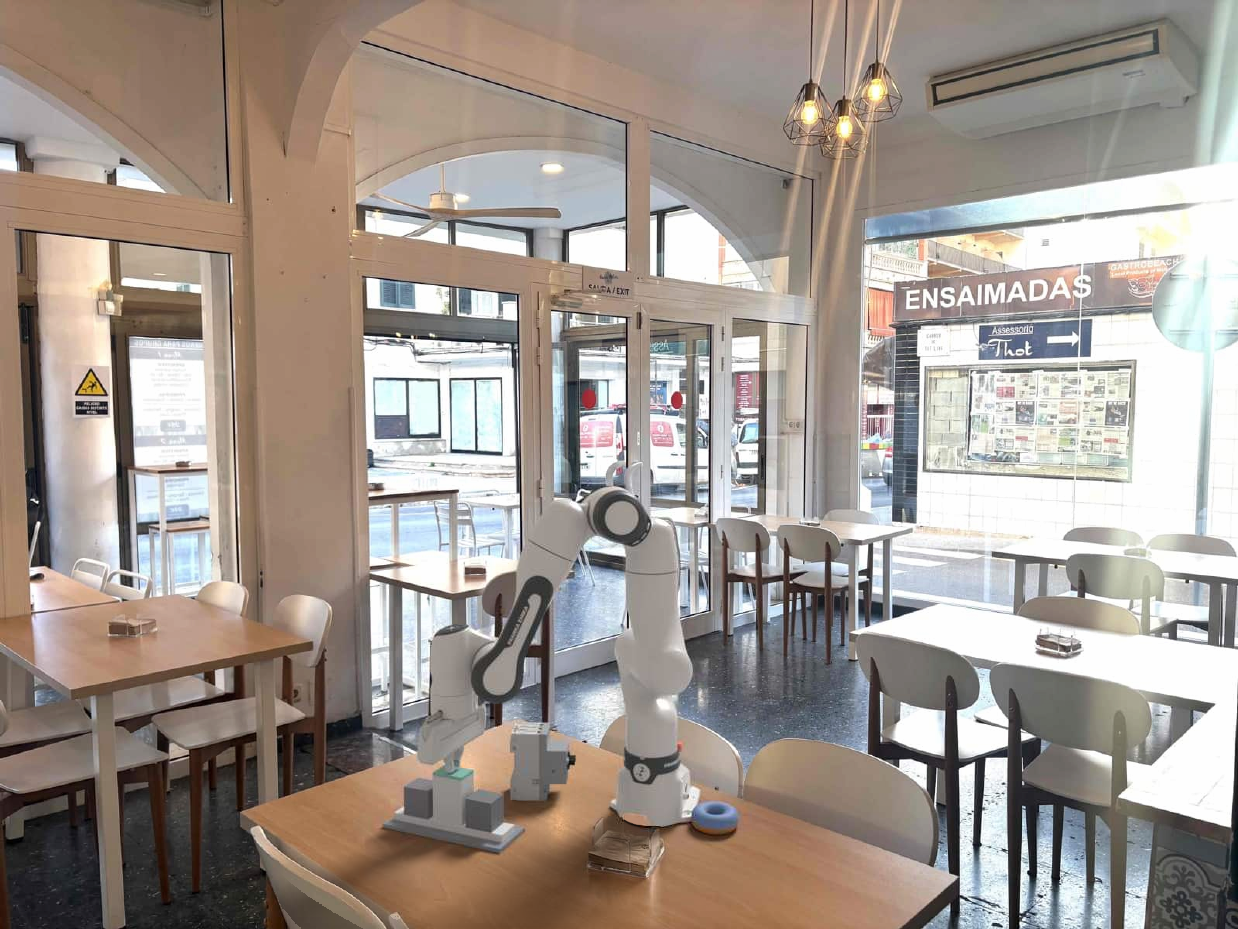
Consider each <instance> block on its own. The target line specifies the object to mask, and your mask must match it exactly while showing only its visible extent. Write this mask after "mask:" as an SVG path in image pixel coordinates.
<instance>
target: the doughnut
mask: <svg viewBox="0 0 1238 929" xmlns="http://www.w3.org/2000/svg"><path fill="white" fill-rule="evenodd" d="M739 817H740V816H739V812H738V811H737V809H736V808H735V807H734V806H732V805H731V804H729V803H726V802H724V801H718V800H717V801H715V800H710V801H709V800H708V801H704V802H700V803H698V805H696V806H695V807H694V809H693V810H692V815H691V821H690V823H692V825H693V827H694V828H695V829H696V830H698V831H700V832H701V833H704V834H707V835H708V834H709V835H717V836H718V835H726V834H729V833H731V832H733V831H734V830H736V828H737V827H738V825H739V819H740V818H739Z"/></svg>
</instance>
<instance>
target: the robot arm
mask: <svg viewBox="0 0 1238 929" xmlns="http://www.w3.org/2000/svg"><path fill="white" fill-rule="evenodd" d="M674 534H675V533H674V529H673V528H672V525H671V524H670V523H668V522H667V521H666V520H664V519H661V518H660V517H650V515H649V514H648V512H647V511H646V509H645V506H644V505H643V504H642V501H641V500H640V499H639V498H638V497H637V496H635V494H633V493H632V492H630V491H629V490H627V489H625V488H623V487H620V486H613V485H604V486H599V487H596V489H593V490H592V491H590V492H589V493H587V494H586V495H584V496H583V497H581V498H580V499H579V500H578V501H574V500H572V499H567V498H558V499H555V500H553V501H551V502H550V504H548V505H547V507H545V509H544V511H543V512H542V514H541V515H540V517H539V518H538V519H537V521H536V522H535V524H534V526H533V528H532V529H531V531H530V533H529V535H528V536H527V539H526V542H524V545H523V547H522V550H521V553H520V555H519V558H518V562H517V566H516V570H515V571H516V574H515V575H516V578H515V579H516V588H515V596H514V601H513V604H512V608H511V611H510V613H509V614H508V617H507V619H506V622H505V623H504V626H503V628H502V630H501V632H500V633H499V634H500V635H498V637H496V636H491V635H487V634H484V633H482V632H480V631H477V630H475V629H474V628H473V627H471V626H470V625H469V624H465V623H455V624H451V625H447V626H444V627H443V628H440V629H439V630H437V631H436V633H434V635H433V636H432V639H431V644H430V655H429V658H430V660H429V664H430V665H429V669H430V670H429V671H430V674H431V680H432V682H431V686H430V689H429V690H430V691H429V692H430V694H429V695H430V714H431V715H429V716H427V717H426V718H425V720H424V722H423V724H422V725H421V726H420V728H419V733H418V739H417V740H418V741H417V750H416V751H417V752H416V756H417V757H416V758H417V760H418V761H419V763H420V764H423V765H429V766H434V765H436V764H438V762H441V761H443V763H444V765H445V770H446V772H448V773H452V772H454V771H455V770H457V769H458V768H460V767H461V759H462V756H463V755H464V751H465V746H466V745H468V744H470V743H471V742H473V741H474V740H476V739H478V738H479V737H480V736H482V735H484V733H485V731H486V726H487V707H486V703H489V704H494V705H495V704H497V705H499V704H503V703H506V702H509V701H511V700H512V699H513V698H515V697H516V696H517V695H518V693H519V692H520V690H521V689H522V686H523V682H524V672H525V670H524V668H525V659H526V656H527V654H528V651H529V649H530V647H531V645H532V642H533V640H534V638H535V636H536V634H537V631H538V629H539V627H540V625H541V622H542V621H543V618H544V616H545V613H546V612H547V610H548V609H549V606H551V603H552V602H553V600H554V598H555V597H556V595H557V593H558V592H559V590H560V589H561V588H562V586H563V584H564V583H565V581H566V580H567V578H568V576H569V574H570V572H571V571H572V569H573V567H574V565H575V564H576V561H577V559H578V557H579V555H580V553H581V549H582V548H583V547H584V546H585V544H586V543H587V542H588V541H589V540H591V539H592V538H594V537H600V538H602V539H605V540H607V541H609V542H612V543H616V544H620V545H623V549H624V554H625V608H626V612H627V613H628V614H627V615H628V616H629V620H630V625H631V627H629V628H626V629H625V630H623V631H622V632H621V633H620V634H619V635H618V637H617V638H616V640H615V643H614V648H613V649H614V656H615V658H616V659H615V660H616V662H617V665H618V666H617V667H618V672H619V678H620V686H621V690H622V696H623V697H622V698H623V703H624V710H625V711H624V712H625V746H624V748H623V753H622V754H623V755H622V758H623V767H622V768H620V769H619V770H618V773H617V781H616V782H617V784H616V786H617V787H616V797H614V799H612V800H611V801H610V808H611V809H613V810H614V811H616V812H617V814H618V816H619V818H621V816H622V814H624V813H634V814H643V815H646V816H647V818H648V820H649V822H650V825H653V826H655V825H659V826H660V827H667V826H671V825H674V824H675V825H676V824H678V823H680V824H681V823H689V822H690V823H691V815H692V810H693V809H694V807H695V806H696V805H698V804H699V800H700V796H701V790H700V788H698V787H696V786H693V785H691V771H690V769H688V767H686V766H685V765H683V763H682V762H681V753H682V750H683V742H680V741H678V712H677V708H676V705H675V703H674V700H673V696H675V695H676V696H677V695H678V694H681V693H682V692H683V691H684V690H685V689H686V688H687V687H688V686H689V684H691V683H690V682H691V680H692V678H693V672H694V671H693V670H694V668H693V664H692V661H691V659H690V657H689V655H688V650H687V648H686V642H685V638H684V633H683V628H682V622H681V618H680V610H679V600H678V599H679V598H678V594H679V593H678V591H679V590H678V588H679V586H678V555H677V546H676V544H677V543H676V539H675V535H674ZM660 827H659V828H660Z"/></svg>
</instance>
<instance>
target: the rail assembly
mask: <svg viewBox="0 0 1238 929" xmlns="http://www.w3.org/2000/svg"><path fill="white" fill-rule="evenodd" d="M504 796H505V794H504V793H502V792H498V791H497V792H495V791H490V790H486V789H480V788H478V789H476V790H474V793H472V794H471V795H470V796H468V797H467V798H465V823H466V824H464V825H463V826H459V825H454V824H449V823H444V822H440V821H435V820H433V779H427V778H421V777H417V778H415V779H414V780H412V781H410V782H409V783H407V784H405V785H403V806H402V807H401V808H398V810H396V811H395V812H394V814H393V815H394V816H392V817H391V818H389V819H388V820H386V821H385V822H383V823H382V828H385V829H388V830H392V831H398V832H403V833H405V834H411V835H415V836H420V837H424V838H428V839H429V838H430V839H434V840H438V841H442V842H443V841H444V842H448V843H452V844H457V845H461V846H464V847H471V848H474V849H479V850H484V851H489V852H492V853H497V854H501V853H503V851H505V850H506V849H507V848H508V847H509V846H510V845H511V844H512V843H513V842H515V841H516V840H517V839H518V838H519V837H521V835H522V834H523V833H525V831H526V828H525V827H523V826H520V825H515V824H514V823H507V822H505V804H504V803H505V797H504Z"/></svg>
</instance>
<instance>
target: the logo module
mask: <svg viewBox="0 0 1238 929" xmlns="http://www.w3.org/2000/svg"><path fill="white" fill-rule="evenodd" d="M474 771H475V770H474V769H471V768H466V767H461V766H460V768H458V769H457V770H455V771H454V772H452V773H448V772H446V770H445V764H443V765H442V766H440V767H439V768H438V769H436V770H435V771H433V772H432V780H433V820H435V821H440V822H444V823H449V824H454V825H459V826H463V825H464V824H466V823H465V798H467V797H468V796H470V795H471V794H472V793H474V792H475V789H474V788H475V784H474V783H475V782H474V781H475V780H474V779H475V778H474V775H475V772H474Z"/></svg>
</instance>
